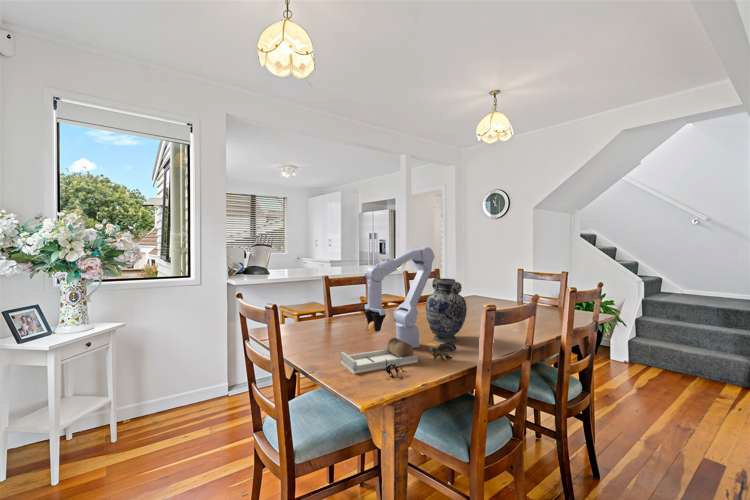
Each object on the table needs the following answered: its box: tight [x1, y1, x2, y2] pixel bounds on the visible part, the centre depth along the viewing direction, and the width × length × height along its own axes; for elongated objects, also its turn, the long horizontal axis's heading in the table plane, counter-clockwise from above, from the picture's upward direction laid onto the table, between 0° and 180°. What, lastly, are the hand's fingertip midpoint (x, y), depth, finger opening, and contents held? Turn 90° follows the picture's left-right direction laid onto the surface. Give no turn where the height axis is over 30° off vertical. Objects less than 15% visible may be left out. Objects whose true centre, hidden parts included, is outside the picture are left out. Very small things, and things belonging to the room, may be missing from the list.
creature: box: [385, 360, 408, 379], centre depth 120 cm, size 8×5×8 cm
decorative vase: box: [425, 278, 468, 343], centre depth 164 cm, size 21×19×28 cm
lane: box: [340, 348, 418, 375], centre depth 132 cm, size 26×12×4 cm, turn 117°
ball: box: [367, 321, 380, 334], centre depth 145 cm, size 5×5×5 cm
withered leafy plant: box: [429, 342, 457, 362], centre depth 137 cm, size 8×7×9 cm
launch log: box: [386, 337, 415, 358], centre depth 136 cm, size 6×10×6 cm, turn 27°
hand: (374, 329), depth 145 cm, fingers closed on ball, 5 cm apart
